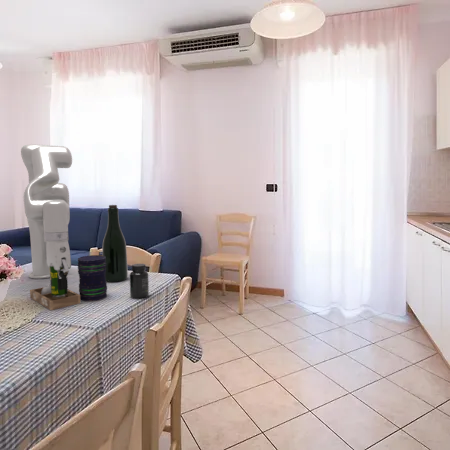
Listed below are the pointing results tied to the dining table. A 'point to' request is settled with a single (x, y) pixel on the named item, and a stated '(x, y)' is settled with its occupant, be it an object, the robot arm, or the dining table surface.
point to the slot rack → (54, 299)
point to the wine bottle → (114, 248)
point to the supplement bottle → (139, 282)
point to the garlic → (46, 290)
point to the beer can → (56, 283)
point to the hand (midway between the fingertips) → (59, 287)
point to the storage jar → (92, 277)
